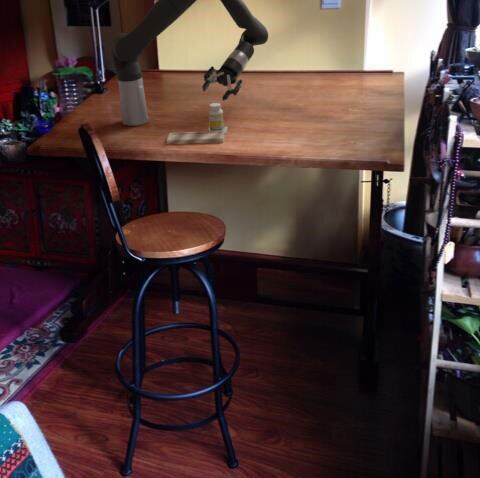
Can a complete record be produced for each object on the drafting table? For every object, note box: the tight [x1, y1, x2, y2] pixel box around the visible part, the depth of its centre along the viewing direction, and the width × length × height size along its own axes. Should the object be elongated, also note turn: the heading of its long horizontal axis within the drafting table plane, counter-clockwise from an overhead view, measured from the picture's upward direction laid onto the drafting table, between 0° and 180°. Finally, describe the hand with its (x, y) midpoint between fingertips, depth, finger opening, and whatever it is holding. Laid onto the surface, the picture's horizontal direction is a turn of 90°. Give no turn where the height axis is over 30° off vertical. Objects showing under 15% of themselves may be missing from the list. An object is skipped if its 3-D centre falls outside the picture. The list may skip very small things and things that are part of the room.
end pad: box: [207, 125, 229, 135], centre depth 230 cm, size 7×7×1 cm
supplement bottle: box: [208, 102, 225, 132], centre depth 228 cm, size 5×5×10 cm
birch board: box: [166, 131, 226, 145], centre depth 223 cm, size 20×7×2 cm, turn 86°
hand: (213, 94), depth 235 cm, fingers open, 8 cm apart
